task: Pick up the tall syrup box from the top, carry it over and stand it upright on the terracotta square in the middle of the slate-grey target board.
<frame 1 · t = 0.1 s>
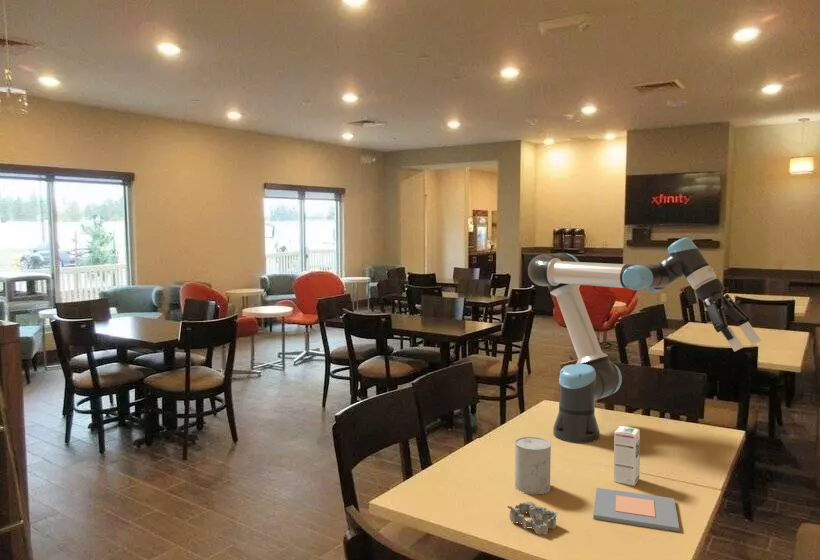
hand: (748, 346, 172), 36 cm above the table, tool tilted 35°, fingers open, 13 cm apart
target board: (634, 510, 148), on the table
grey irregular lumpy piece: (532, 525, 142), on the table
grey marbled cylinder: (532, 487, 161), on the table
syrup box: (626, 481, 165), on the table
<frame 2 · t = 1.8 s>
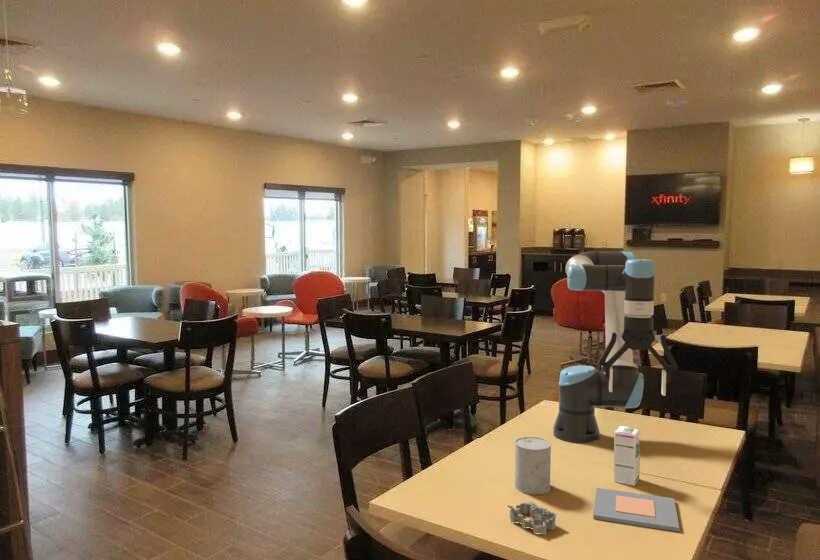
hand: (636, 392, 163), 25 cm above the table, tool pointing down, fingers open, 13 cm apart
nothing on the table moved.
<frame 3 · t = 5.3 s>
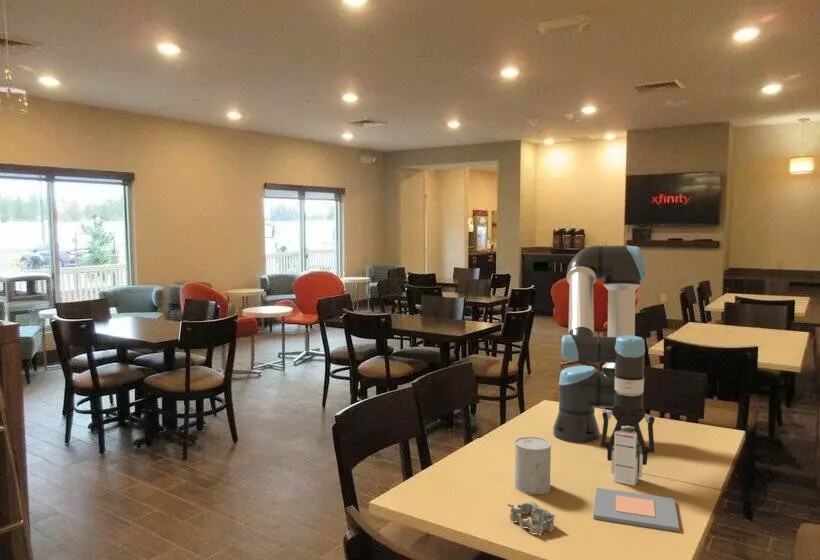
hand: (626, 473, 165), 2 cm above the table, tool pointing down, fingers closed on syrup box, 6 cm apart
syrup box: (626, 481, 165), on the table, touching gripper
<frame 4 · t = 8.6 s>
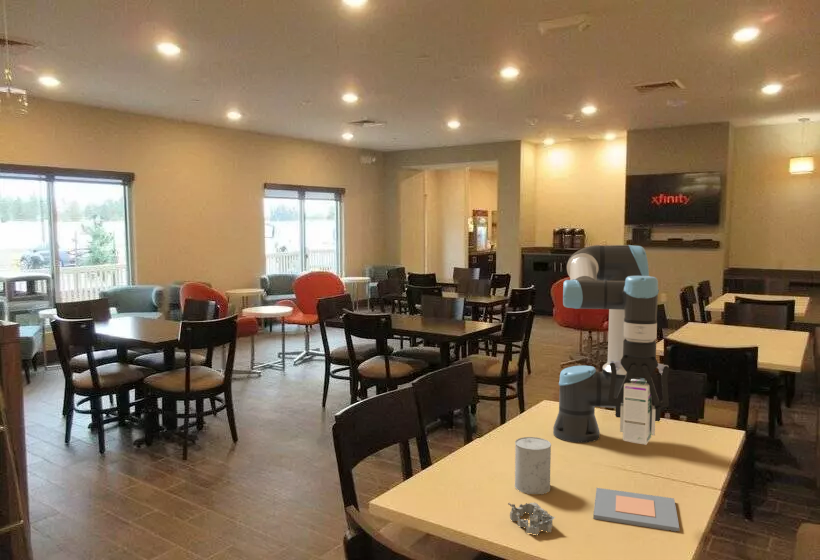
hand: (637, 431, 146), 20 cm above the table, tool pointing down, fingers closed on syrup box, 6 cm apart
syrup box: (636, 440, 146), point 18 cm above the table, touching gripper
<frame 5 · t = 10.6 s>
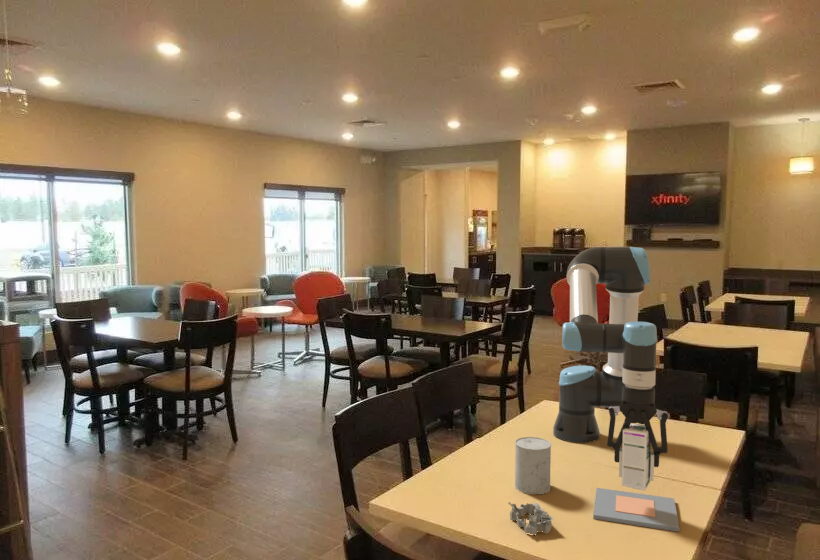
hand: (635, 476, 147), 9 cm above the table, tool pointing down, fingers closed on syrup box, 6 cm apart
syrup box: (635, 485, 147), point 6 cm above the table, touching gripper
when the fingers open (4 cm above the table, at t = 12.2 s): syrup box drops 1 cm, resting on target board.
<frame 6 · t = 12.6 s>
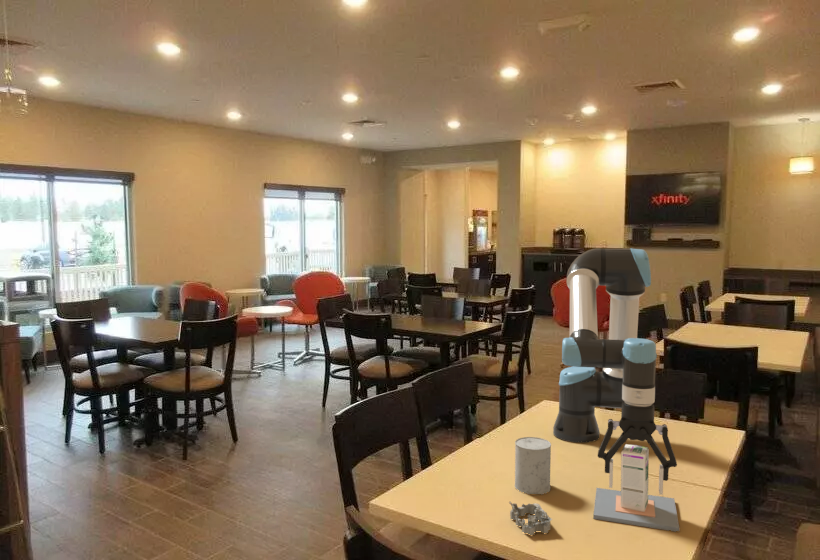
hand: (635, 488, 147), 5 cm above the table, tool pointing down, fingers open, 11 cm apart
syrup box: (634, 506, 148), point 1 cm above the table, touching target board
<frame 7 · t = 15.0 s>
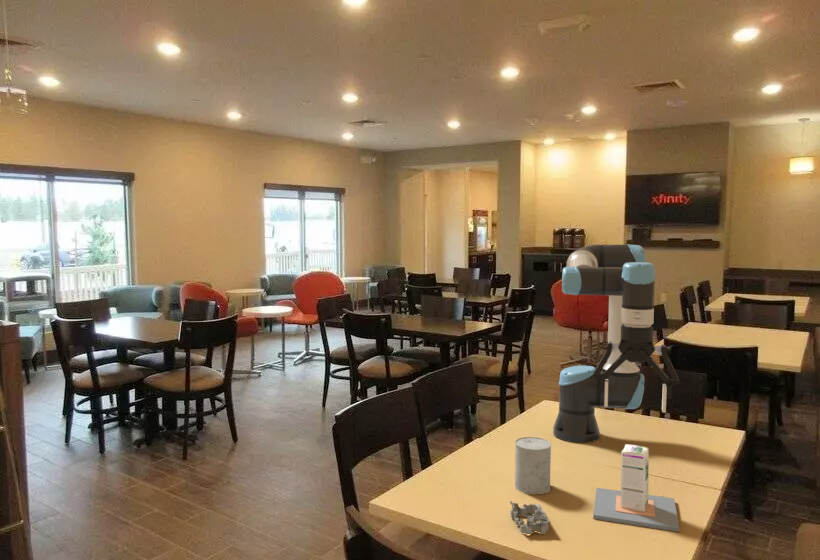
hand: (634, 408, 149), 25 cm above the table, tool pointing down, fingers open, 13 cm apart
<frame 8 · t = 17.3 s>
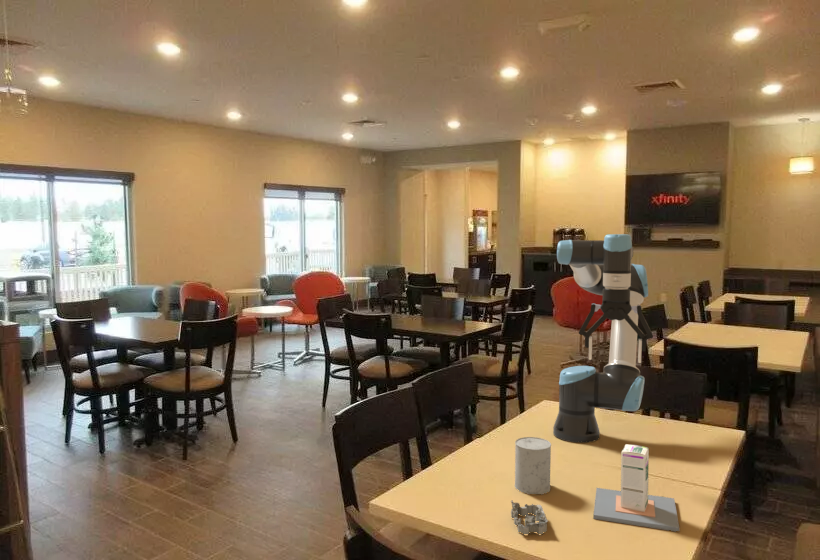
hand: (614, 360, 172), 32 cm above the table, tool pointing down, fingers open, 13 cm apart
at the end: syrup box inside the target area on the target board (0.2 cm from its centre), point 1.0 cm above the target board's base; syrup box tilted 0°; the gripper is holding nothing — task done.
